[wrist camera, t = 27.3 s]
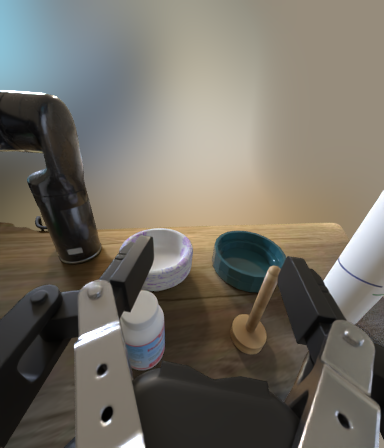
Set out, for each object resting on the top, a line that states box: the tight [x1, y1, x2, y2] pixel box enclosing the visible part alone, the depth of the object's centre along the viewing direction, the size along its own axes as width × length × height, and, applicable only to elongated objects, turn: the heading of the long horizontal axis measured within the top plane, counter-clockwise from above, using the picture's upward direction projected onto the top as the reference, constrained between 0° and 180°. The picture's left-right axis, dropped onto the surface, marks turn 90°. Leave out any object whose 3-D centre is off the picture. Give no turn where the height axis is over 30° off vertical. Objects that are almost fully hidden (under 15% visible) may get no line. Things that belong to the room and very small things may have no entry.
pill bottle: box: [120, 291, 165, 370], centre depth 26 cm, size 6×6×11 cm
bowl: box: [212, 231, 286, 292], centre depth 44 cm, size 16×16×6 cm
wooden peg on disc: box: [230, 266, 281, 354], centre depth 27 cm, size 6×6×17 cm
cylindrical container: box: [323, 191, 384, 325], centre depth 29 cm, size 7×7×25 cm
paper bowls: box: [119, 228, 193, 291], centre depth 40 cm, size 15×15×8 cm
